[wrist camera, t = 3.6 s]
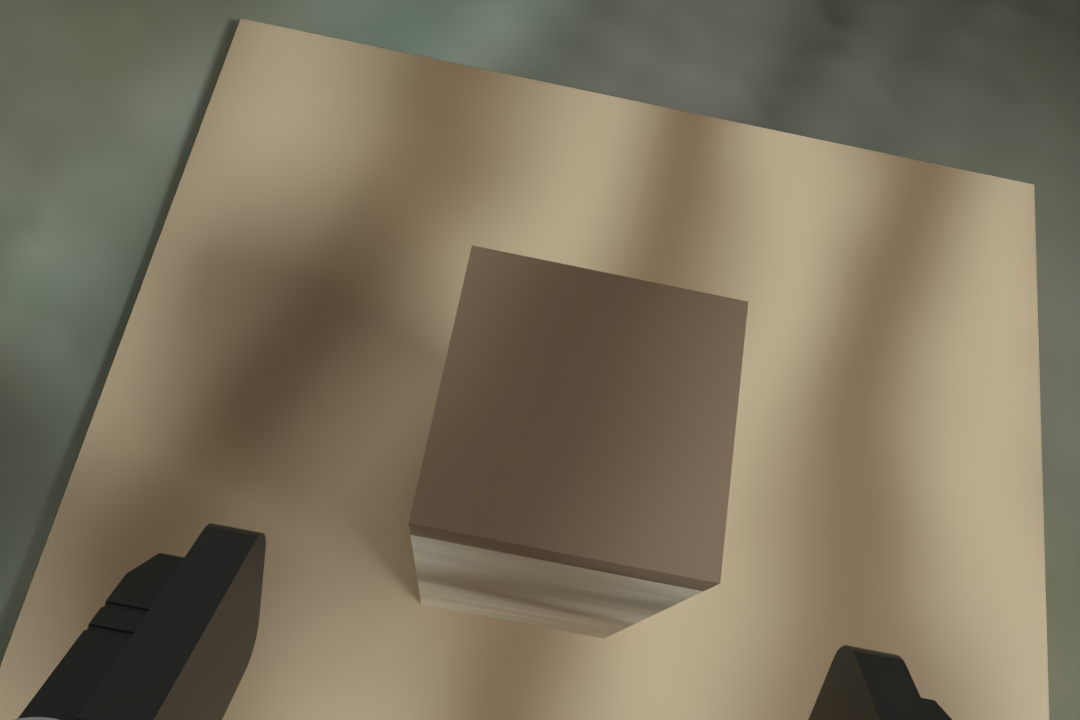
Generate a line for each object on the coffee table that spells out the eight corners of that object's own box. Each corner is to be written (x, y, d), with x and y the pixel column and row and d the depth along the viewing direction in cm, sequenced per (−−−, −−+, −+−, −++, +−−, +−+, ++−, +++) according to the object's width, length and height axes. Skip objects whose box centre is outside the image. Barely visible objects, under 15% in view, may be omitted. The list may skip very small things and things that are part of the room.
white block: (628, 462, 22) (748, 301, 13) (603, 638, 20) (720, 583, 12) (459, 428, 22) (472, 244, 13) (421, 604, 20) (408, 523, 12)
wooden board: (1023, 194, 26) (1033, 184, 26) (1042, 1039, 19) (1058, 1048, 18) (244, 31, 25) (240, 18, 25) (-54, 843, 18) (-67, 846, 18)
